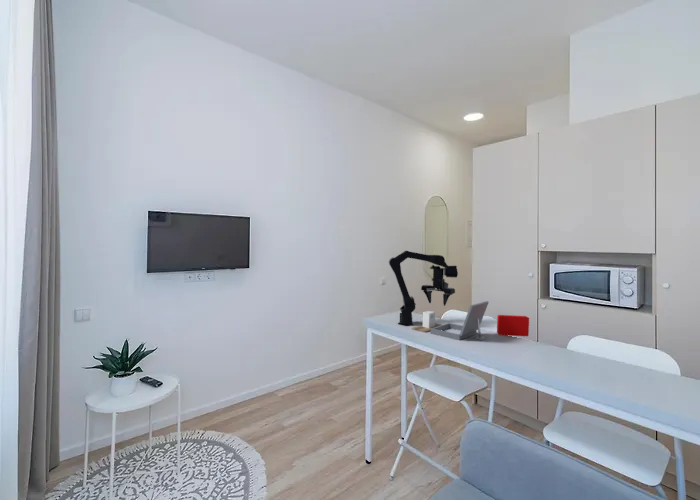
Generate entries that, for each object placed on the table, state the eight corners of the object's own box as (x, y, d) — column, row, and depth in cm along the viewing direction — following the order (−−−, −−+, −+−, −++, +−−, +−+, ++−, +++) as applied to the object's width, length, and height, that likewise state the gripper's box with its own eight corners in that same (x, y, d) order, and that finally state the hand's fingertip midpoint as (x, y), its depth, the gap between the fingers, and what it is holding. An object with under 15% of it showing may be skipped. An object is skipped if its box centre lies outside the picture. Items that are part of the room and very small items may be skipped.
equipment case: (430, 333, 179) (431, 314, 179) (448, 327, 192) (449, 309, 192) (474, 343, 162) (475, 322, 162) (491, 336, 176) (491, 316, 176)
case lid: (470, 305, 164) (472, 306, 163) (486, 301, 177) (488, 301, 177) (459, 334, 168) (461, 336, 167) (476, 328, 181) (478, 329, 181)
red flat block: (526, 334, 181) (526, 316, 180) (528, 336, 178) (529, 317, 178) (496, 333, 182) (497, 314, 182) (498, 335, 179) (499, 315, 179)
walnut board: (411, 329, 187) (411, 328, 187) (431, 323, 201) (431, 322, 201) (425, 332, 180) (425, 331, 180) (445, 326, 195) (445, 325, 195)
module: (422, 326, 190) (422, 312, 190) (428, 325, 194) (428, 310, 194) (428, 328, 187) (429, 313, 187) (434, 326, 191) (435, 312, 191)
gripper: (460, 277, 195) (459, 305, 195) (431, 274, 208) (430, 300, 209) (450, 279, 187) (449, 307, 188) (421, 275, 200) (420, 302, 201)
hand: (437, 304), depth 196 cm, fingers open, 9 cm apart
